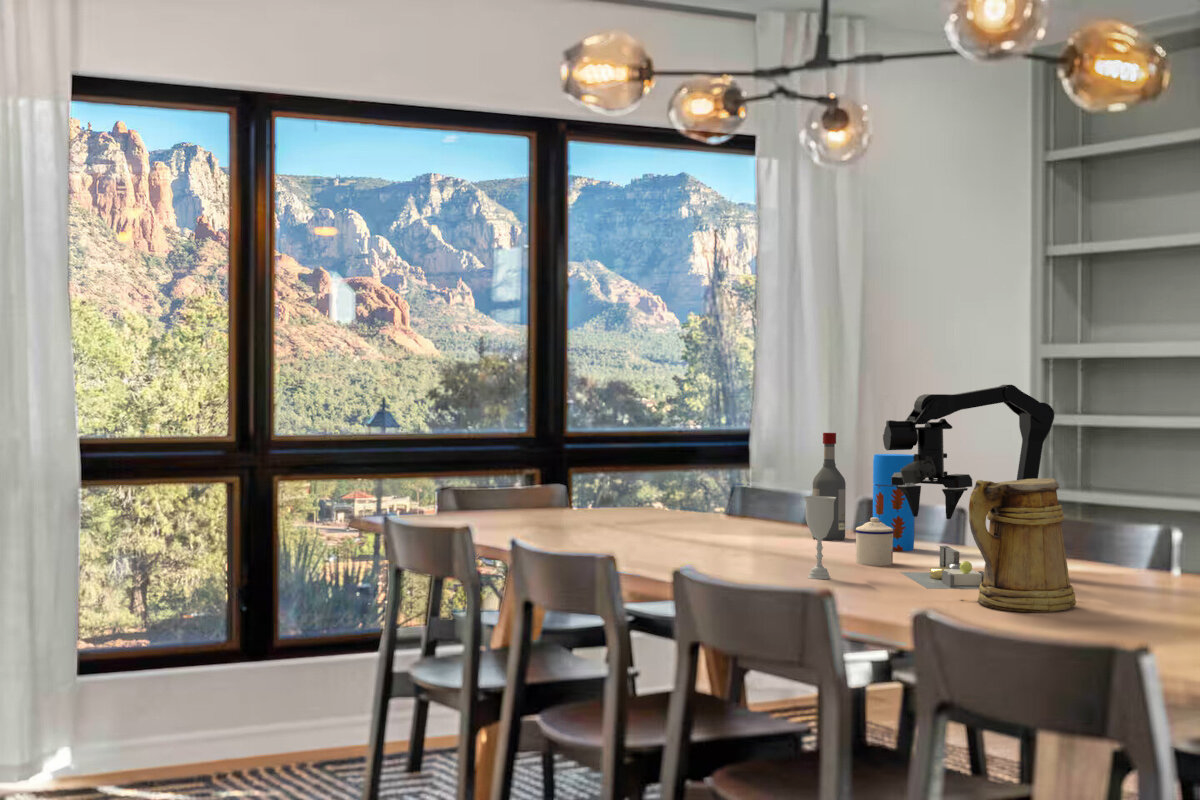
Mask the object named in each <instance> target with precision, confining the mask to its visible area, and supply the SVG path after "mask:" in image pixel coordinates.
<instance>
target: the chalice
mask: <svg viewBox="0 0 1200 800" xmlns="http://www.w3.org/2000/svg"><path fill="white" fill-rule="evenodd" d="M803 499H804V502H805V521H806V523H807V526H808V527H807V528H808V529H809V531H810V533H811V535H812V536H813V537H814V538H816V539H817V540H816V546H815V549H816V551H817V552H816V554H815V557H816V564H815V566H812V568H811V569H810V571H809V574H808V576H807V578H809V579H812V580H813V579H814V580H827V579H828V580H829V579H831V576H830V573H829V570H828V569H827V568H826V567H825V566H823V564H822V563H823V561H822V559H823V558H824V555H823V553H822V551H823V549H824V547H823V544H822V542H823V540H822V539H823V538H825V537H826V536H827V534H828V532H829V530H830V528H831V525H832V523H833V520H834V501H835V499H836V497H827V496H813V495H810V496H807V495H806V496H803ZM813 537H812V538H813Z"/></svg>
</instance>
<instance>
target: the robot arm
mask: <svg viewBox="0 0 1200 800" xmlns="http://www.w3.org/2000/svg"><path fill="white" fill-rule="evenodd" d="M1001 403H1003V404H1004V405H1005V406H1007V407H1008V408H1009V409H1010V410H1011V412H1013V413H1014V414H1016V415H1017V416H1018V420H1019V421H1018V423H1019V426H1018V427H1019V430H1020V434H1021V441H1022V442H1021V448H1020V454H1019V462H1018V467H1017V475H1016V480H1023V479H1039V475H1040V474H1039V473H1040V467H1041V461H1042V455H1043V454H1042V453H1043V446H1044V443H1045V440H1046V439H1047V437H1048V435H1049V433H1050V432H1051V429H1052V426H1053V423H1054V421H1055V411H1054V409H1053V408H1052V405H1049V404H1048V403H1046V402H1042V401H1041V402H1040V401H1039V400H1038V399H1036V398H1034V397H1033V396H1031V395H1030V394H1029V395H1028V394H1027V393H1025V392H1023V391H1022V390H1021V389H1019V387H1017V386H1016V385H1014V384H1001V385H999V386H994V387H990V388H989V387H988V388H981V389H978V390H977V389H976V390H971V391H966V392H959V393H954V394H946V393H944V394H943V393H942V394H938V393H937V394H935V393H933V394H929V393H925V394H922V395H919V396H918V397H917V398H916V399H915V401H914V404H913V409H912V411H911V412H910V413H909V415H908V416H907V418H906V419H905V420H886V422H885V424H886V425H885V427H884V430H883V434H882V440H883V442H882V443H883V447H884V449H885V450H886V451H910V450H912V449H914V447H915V446H917V453H914V454H913V455H914V460H913V462H912V463H909V464H908V465H906V466H905V467H903V468H902V469H901V472H898V473H894V474H893V476H892V477H891V485H898V486H897V487H896V488H897V489H900V490H901V491H902V492H903V493H904V494H905V496H906V499H907V501H908V503H909V506H910V509H911V511H912V514H913V516H914V517H915V518H916V517H918V515H919V511H920V501H921V491H922V490H921V489H922V485H919V484H928V485H929V484H931V485H942V486H943V487H944V488H942V489H941V491H942V492H943V494H944V498H945V499H944V501H945V505H944V506H945V518H946V520H951V519H952V516H953V514H954V513H955V509H956V507H957V506H958V503H959V501H960V499H961V498H962V496H963V494H964V492H965V491H966V492H967V491H968V490H969V489H968V488H973V478H972V477H971V475H970V474H968V473H966V474H965V473H964V474H963V473H953V474H948V471H946V470H945V463H944V459H947V458H948V454H947V453H946V452H944V430H952V429H953V425H951V424H950V423H949V422H948V421H947V420H946V418H945V417H948V416H950V415H952V414H954V413H956V412H958V411H961V410H968V409H973V408H978V407H985V406H991V405H995V404H1001ZM931 420H933V421H931ZM934 420H935V422H934ZM936 420H939V421H936ZM916 425H924V426H916ZM917 484H918V485H917Z"/></svg>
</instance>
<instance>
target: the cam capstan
mask: <svg viewBox="0 0 1200 800" xmlns="http://www.w3.org/2000/svg"><path fill="white" fill-rule="evenodd" d="M961 563H962V562H960V551H958V550H957V549H954V548H952V547H950V546H948V545H939V566H933V567H929V572H930V578H933V579H939V580H942V571H944V569H960V564H961Z"/></svg>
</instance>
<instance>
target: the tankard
mask: <svg viewBox="0 0 1200 800" xmlns="http://www.w3.org/2000/svg"><path fill="white" fill-rule="evenodd" d="M1059 489H1060V486H1059V483H1058V481H1057V480H1056V479H1055V478H1038V479H1023V480H1017V479H1016V480H1008V481H1007V480H1006V481H1000V482H994V481H990V480H983V479H977V480H976V481H975V485H974V488H973V489H972V491H971V494H970V497H969V502H968V503H969V504H968V522H969V528H970V531H971V534H972V537H973V540H974V543H975V544H976V546H977V548H978V550H979V552H980V554H981V556H982V559H983V560H984V570H983V572H984V578H983V582H982V583H981V584H980V586H979V589H978V597H977V602H978V603H979V604H981V605H982V606H983V607H986V608H990V609H994V610H999V611H1006V612H1014V613H1015V612H1020V613H1021V612H1022V613H1023V612H1024V613H1047V612H1048V613H1049V612H1059V611H1065V610H1068V609H1070V608H1073V607H1074V606H1076V605H1077V601H1076V594H1075V591H1074V590H1075V589H1074V586H1073V585H1072V584H1071V582H1070V576H1069V575H1070V574H1069V569H1068V568H1069V567H1068V562H1067V561H1068V560H1067V556H1066V549H1065V543H1064V541H1065V540H1064V536H1063V535H1064V534H1063V527H1062V522H1063V521H1064V519H1065V516H1064V513H1063V509H1062V508H1063V506H1062V504H1061V503H1060V504H1059V499H1058V491H1057V490H1059ZM987 520H989V526H988V527H989V528H988V529H987V524H986V523H987Z"/></svg>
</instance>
